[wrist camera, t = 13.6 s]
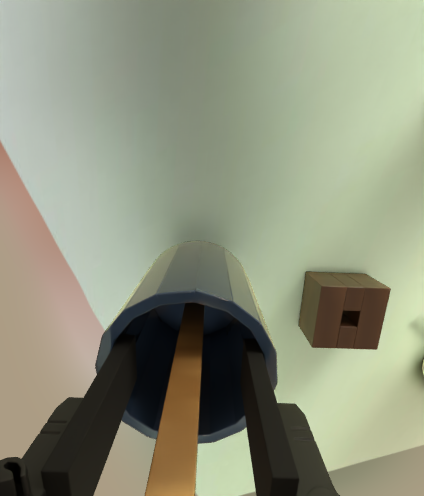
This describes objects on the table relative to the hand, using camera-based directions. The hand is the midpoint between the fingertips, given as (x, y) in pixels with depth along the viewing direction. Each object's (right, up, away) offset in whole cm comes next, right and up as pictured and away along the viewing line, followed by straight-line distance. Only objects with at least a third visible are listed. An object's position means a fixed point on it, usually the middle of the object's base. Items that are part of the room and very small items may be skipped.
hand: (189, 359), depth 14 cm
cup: (0, +2, +9) cm, 9 cm away
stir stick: (0, +2, +8) cm, 8 cm away
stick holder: (+18, -1, +22) cm, 28 cm away
